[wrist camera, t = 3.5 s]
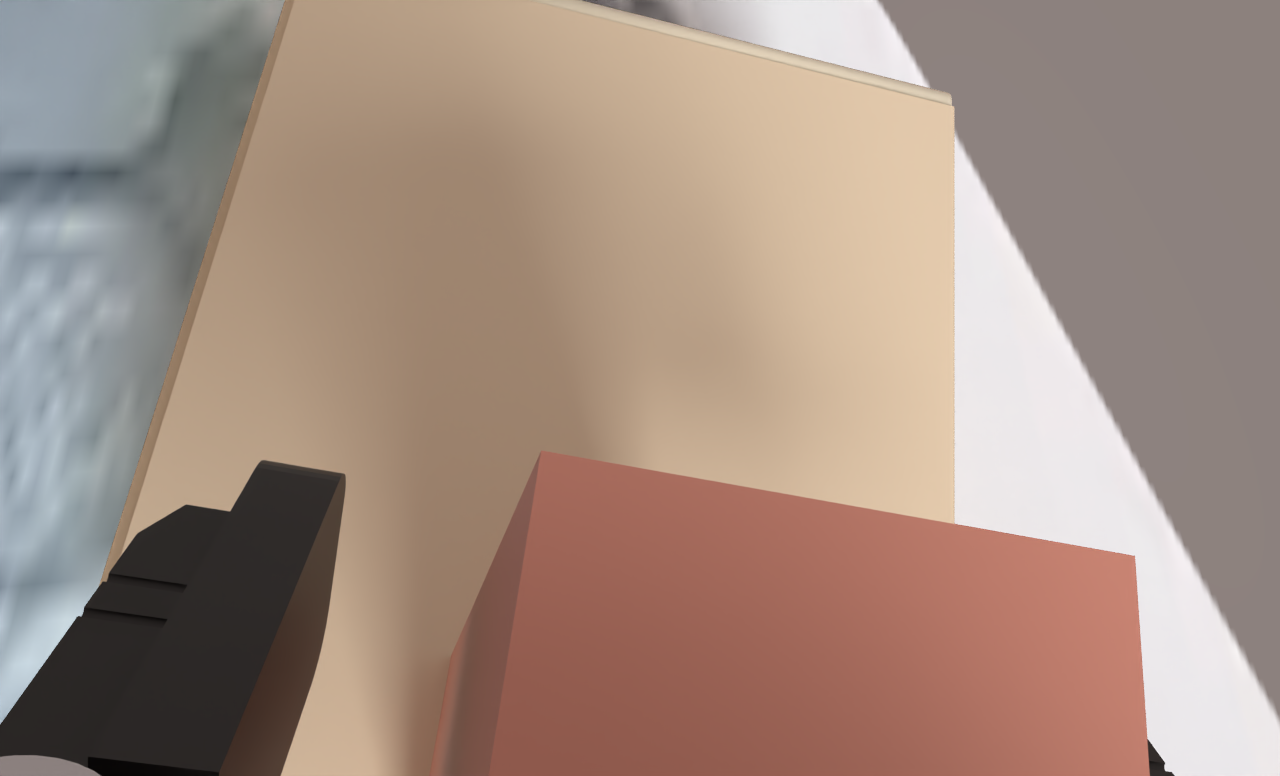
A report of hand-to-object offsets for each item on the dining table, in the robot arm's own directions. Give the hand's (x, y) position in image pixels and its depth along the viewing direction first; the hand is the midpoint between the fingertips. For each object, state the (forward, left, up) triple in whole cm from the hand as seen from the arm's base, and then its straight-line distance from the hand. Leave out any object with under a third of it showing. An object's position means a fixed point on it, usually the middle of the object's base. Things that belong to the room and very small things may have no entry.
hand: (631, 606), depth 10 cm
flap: (-3, +3, -6) cm, 7 cm away
